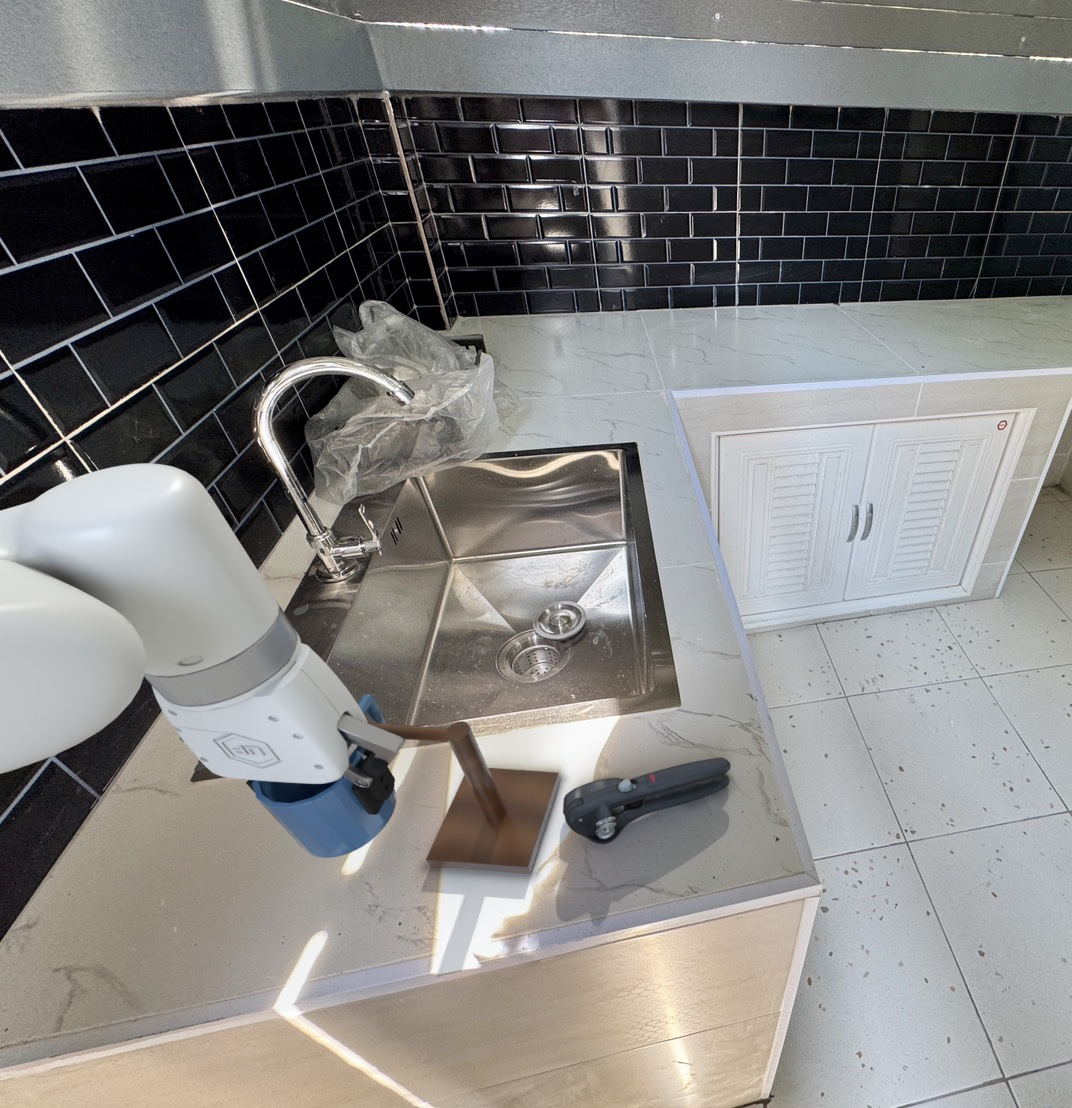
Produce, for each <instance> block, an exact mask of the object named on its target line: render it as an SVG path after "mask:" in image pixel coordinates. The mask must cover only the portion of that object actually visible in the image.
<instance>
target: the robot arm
mask: <svg viewBox="0 0 1072 1108" xmlns="http://www.w3.org/2000/svg"><path fill="white" fill-rule="evenodd" d="M144 678H145V680H146V681H147V682H148V683H149V684H150V685H151V689H152V693H153V694H154V697H155V699H156V702H157V704H158V705H159V708H160V709H161V711H162V713H163V715H164V717H165V718H166V719H167V721H168V723H169V724H170V725H171V726H172V728H173V729H174V731H175V732H176V733H177V734H178V736H179V740H180V741H181V742H182V743H184V744H185V745H186V746H187V748H189V749H190V751H191V752H192V753H193V754H194V755H195V757H196V758H197V759H198V760H199V761H200V763H202V765H203V766H204V767H206V768H207V769H208V770H209V771H210V772H211V773H212V774H214V775H216V776H219V777H222V778H227V779H235V780H242V781H246V780H247V781H246V782H245V784H246V786H247V787H249V788H250V790H251V791H252V792H253V793H254V794H255V792H254V788H253V781H254V780H258V781H272V782H288V783H307V784H323V783H329V782H333V781H336V780H338V779H340V778H341V777H343V778H345V779H347V780H348V781H350V782H352V783H353V785H352V787H351V791H352V793H353V794H354V795H355V797H356V798H357V800H358V801H359V802H360V804H361V805H362V806H363V808H364V809H365V811H366V812H367V813H368V814H370V815H377V814H378V813H379V811H380V809H381V807H382V805H383V803H384V802H385V800H387V799H388V798H389V797H390V795H391V793H392V792H393V789H395V782H396V778H395V776H394V775H393V773H392V771H391V769H390V768H389V765H390V764H391V763H392V762H393V761H394V759H395V758H396V757H397V755H398V753H399V752H400V750H401V748H402V746H403V744H404V743H405V739H403V738H402V737H400V736H398V735H395V734H393V733H390V732H388V731H386V730H383V729H381V728H378V727H376V726H373V725H371V724H368V723H369V722H368V720H367V718H366V716H365V715H364V714H363V712H362V710H361V708H360V707H359V705H358V704H357V703H358V702H357V701H356V699H355V697H354V696H353V695H352V694H351V692H350V691H349V689H348V688H347V687H346V686H345V684H344V683H343V682H342V680H341V679H340V678H339V677H338V676H337V674H336V673H335V672H334V671H333V670H332V669H331V667H329V665H328V664H327V663H326V662H325V661H324V660H323V659H322V658H321V657H320V656H319V655H318V654H317V653H316V652H315V650H313V649H312V648H311V647H310V646H309V645H308V644H306V643H302V639H301V637H300V635H299V633H298V632H297V630H296V629H295V627H294V626H293V624H292V623H291V621H290V619H289V618H288V617H287V615H286V613H285V612H284V610H283V609H282V607H281V605H280V604H279V602H278V601H277V599H276V597H275V596H274V594H273V593H272V591H271V589H270V588H269V586H268V585H267V583H266V582H265V580H264V578H263V577H262V575H261V573H260V572H259V570H258V569H257V567H256V566H255V564H254V562H253V561H252V559H251V558H250V556H249V554H248V553H247V551H246V550H245V548H244V547H243V545H242V544H241V542H240V540H239V539H238V537H237V535H236V533H234V531H233V529H232V528H231V526H230V524H229V523H228V521H227V520H226V518H225V517H224V515H223V514H222V512H221V510H220V509H219V507H218V505H217V504H216V502H215V501H214V499H213V497H212V496H211V494H210V493H209V492H208V491H207V489H206V488H205V486H204V485H203V484H202V483H201V482H200V480H199V479H197V478H196V477H194V476H193V475H192V474H190V473H188V472H187V471H185V470H183V469H180V468H178V467H175V466H172V465H167V464H161V463H147V462H144V463H130V464H123V465H122V464H121V465H117V466H111V467H107V468H102V469H97V470H95V471H91V472H89V473H85V474H83V475H80V476H77V477H74V478H72V479H69V480H67V481H64V482H62V483H60V484H58V485H55V486H54V487H52V488H50V489H48V490H46V491H45V492H44V493H42V494H40V495H39V496H38V497H36V498H35V499H33V500H31V501H28V502H25V503H22V504H18V505H16V506H12V507H8V508H5V509H2V510H0V775H1V774H5V773H9V772H13V771H14V770H18V769H21V768H23V767H26V766H29V765H32V764H34V763H37V762H40V761H43V760H46V759H48V758H50V757H53V756H56V755H59V754H60V753H62V752H64V751H66V750H68V749H71V748H73V747H75V746H77V745H79V744H81V743H83V742H84V741H86V740H87V739H89V738H91V737H93V736H94V735H96V734H97V733H99V732H100V731H102V730H104V729H105V728H106V727H107V726H108V725H109V724H111V723H112V722H114V720H116V719H117V718H118V717H119V716H120V715H121V714H122V713H123V711H125V709H126V708H127V707H128V706H129V705H130V704H131V703H132V701H133V700H134V698H135V696H136V695H137V694H138V692H139V690H140V689H141V686H142V683H143V681H144ZM355 750H357V751H359V752H361V753H362V754H364V755H365V756H367V757H366V758H365V759H364V761H363V763H362V764H361V766H360V768H359V769H358V768H357V767H355V766H354V765H352V764H350V763H349V760H350V758H351V756H352V755H353V753H354V752H355Z"/></svg>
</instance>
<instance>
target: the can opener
mask: <svg viewBox="0 0 1072 1108" xmlns="http://www.w3.org/2000/svg"><path fill="white" fill-rule="evenodd" d="M731 766H732V765H731V762H730V761H729V760H728V759H727V758H725V757H719V756H718V757H713V758H706V759H700V760H696V761H691V762H686V763H681V764H678V765H673V766H669V767H665V768H662V769H658V770H655V771H652V772H648V773H645V774H642V775H638V776H635V777H633V778H630V779H629V778H625V779H624V778H620V777H607V778H601V779H597V780H593V781H590V782H587V783H585V784H581V785H579V786H576V787H575V788H573V789H572V790H570V791H568V792H567V793H566V794H565V795H564V797H563V803H562V806H563V807H562V814H563V816H564V820H565V822H566V824H567V826H568V827H569V828H570V830H572V831H573V832H574V833H576V834H578V835H580V836H583V837H584V838H585V839H587V840H588V841H590V842H593V843H595V844H597V845H607V844H609V843H612V842H613V841H615V840H616V838H618V837H619V835H620V834H621V833H622V831H624V829H625V827H626V826H627V825H629V824H630V823H632V822H633V821H635V820H638V819H639V818H642V817H643V816H646V815H649V814H652V813H654V812H655V813H656V812H659V811H662V810H666V809H670V808H673V807H677V806H681V805H685V804H688V803H692V802H695V801H697V800H700V799H702V798H703V799H704V798H706V797H708V796H711V795H713V794H715V793H718V792H720V791H723V790H725V789H726V788H728V786H729V784H730V777H729V776H728V775H727V774H726V773H728V772H729V771H730V770H731Z"/></svg>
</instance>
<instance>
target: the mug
mask: <svg viewBox="0 0 1072 1108" xmlns="http://www.w3.org/2000/svg"><path fill="white" fill-rule="evenodd" d="M357 704H358V705H359V707H360V708H361V710H362V712H363V714H364V716H365V715H366V714H367V716H368V717H369V719H370V720H371V723H381V724H389V722H388V720H387V718H386V717H385V715H384V713H383V712H382V709H381V708H380V706H379V705H378V703H377V701H376V698H375V697H374V696H373V695H372V694H370V693H365V694H364V695H362V696H361V697H360V699H359V701H358V702H357ZM366 757H367V756H365V755H364V754H362V753H361V752H359V751H357V750H355V752H354V753H353V755H352V756H351V758H350V760H349V763H350V764H352V765H354V766H355V767H357V768H358V769H359V768H360V766H361V764H362V763H363V761H364V759H365V758H366ZM352 785H353V783H352V782H350V781H348V780H347V779H345V778H343V777H341V778H340V779H338V780H336V781H333V782H329V783H323V784H307V783H288V782H272V781H258V780H254V781H253V788H254V792H255V793H254V792H253V793H254V795H255V798H256V800H257V801H258V802H259V804H261V805H262V806H263V808H265V809H266V810H267V812H268V813H269V814H270V815H271V816H272V817H273V818H274V819H275V820H276V822H277V823H278V824H279V825H280V826H281V827H282V828H283V829H284V830H285V831H286V832H287V833H288V835H289V836H290V837H291V838H292V840H294V841H295V842H296V843H297V844H298V846H300V847H301V848H302V849H304V851H306V853H308V854H310V855H311V856H314V857H317V858H323V859H331V858H337V857H342V856H345V855H349V854H351V853H353V852H355V851H357V850H359V849H361V848H363V847H364V846H366V845H367V844H369V843H370V842H371V841H372V840H374V839H375V838H376V837H377V836H378V835H379V834H380V833H381V832H382V831H383V830H384V828H386V826H387V824H389V821H390V820H391V819H392V816H393V814H394V812H395V809H396V806H397V805H396V804H397V791H396V789H395V788H394V789H393V792H392V793H391V795H390V797H389V798H388V799H387V800H385V802H384V803H383V805H382V807H381V809H380V811H379V813H378V814H377V815H370V814H368V813H367V812H366V811H365V809H364V808H363V806H362V805H361V804H360V802H359V801H358V800H357V798H356V797H355V795H354V794H353V793H352V791H351V787H352Z"/></svg>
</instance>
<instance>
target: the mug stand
mask: <svg viewBox="0 0 1072 1108" xmlns="http://www.w3.org/2000/svg"><path fill="white" fill-rule="evenodd" d="M368 724H371V725H373V726H376V727H378V728H381V729H383V730H386V731H388V732H390V733H393V734H395V735H398V736H400V737H402V738H403V739H404V740H408V741H421V742H437V743H448V744H449V746H450V749H451V750H452V752H453V755H454V756H455V758H456V760H457V762H458V764H459V766H460V768H461V771H462V772H463V774H464V775H463V777H462V779H461V782H460V784H459V786H458V788H457V790H456V793H455V795H454V797H453V799H452V802H451V803H450V806H449V807H448V810H447V812H446V814H445V816H444V819H443V821H442V823H441V825H440V827H439V829H438V832H437V834H436V836H435V839H434V841H433V842H432V845H431V847H430V849H429V851H428V854H427V856H426V858H425V861H426V862H427V863H428V865H429V867H432V868H433V867H435V868H445V869H446V868H447V869H459V870H474V871H487V872H502V873H512V874H513V873H515V874H526V875H531V874H532V871H533V868H534V864H535V862H536V858H537V855H538V853H539V849H540V847H541V844H542V843H541V842H542V840H543V836H544V834H545V831H546V827H547V824H548V821H549V818H550V815H551V812H552V809H553V806H554V802H555V799H556V796H557V794H558V793H557V792H558V790H559V786H560V784H561V776H560V773H559V771H558V772H556V771H541V770H529V769H527V770H526V769H513V768H499V767H488V764H487V761H486V759H485V757H484V755H483V753H482V751H481V748H480V746H479V744H478V742H477V740H476V738H475V735H474V733H473V730H472V728H471V725H470V724H469V723H468V722H467V721H462V720H461V721H460V720H459V721H456V722H453V723H451V724H450V725H449V726H448V727H441V726H439V727H438V726H426V725H424V726H423V725H409V724H397V723H395V724H394V723H388V724H381V723H373V722H368Z"/></svg>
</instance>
